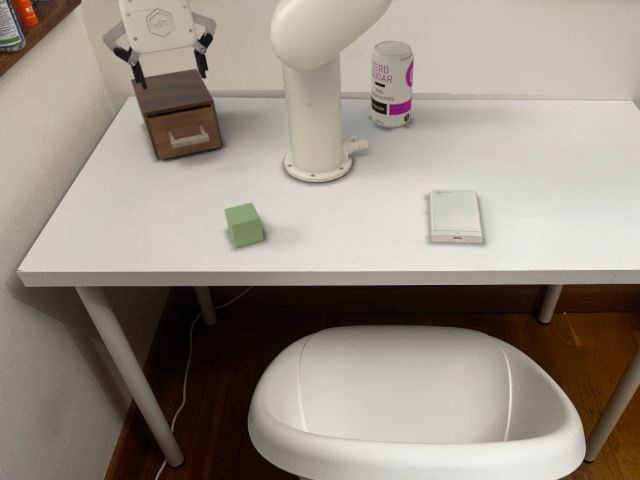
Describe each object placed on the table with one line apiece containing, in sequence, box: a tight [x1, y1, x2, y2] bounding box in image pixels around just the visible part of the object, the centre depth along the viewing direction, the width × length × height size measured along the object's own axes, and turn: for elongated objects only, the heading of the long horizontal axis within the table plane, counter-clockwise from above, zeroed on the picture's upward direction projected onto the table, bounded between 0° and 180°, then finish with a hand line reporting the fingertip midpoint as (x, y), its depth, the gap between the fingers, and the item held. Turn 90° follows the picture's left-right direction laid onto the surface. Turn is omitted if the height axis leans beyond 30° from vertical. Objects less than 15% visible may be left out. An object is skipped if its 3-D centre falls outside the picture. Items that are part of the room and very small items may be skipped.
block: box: [224, 202, 265, 248], centre depth 89 cm, size 4×4×4 cm
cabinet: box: [130, 68, 224, 161], centre depth 110 cm, size 15×13×10 cm
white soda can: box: [370, 40, 415, 129], centre depth 114 cm, size 8×8×15 cm
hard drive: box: [429, 189, 484, 244], centre depth 94 cm, size 2×8×12 cm
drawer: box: [148, 105, 222, 160], centre depth 107 cm, size 18×11×8 cm, turn 25°
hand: (173, 80), depth 94 cm, fingers open, 9 cm apart
